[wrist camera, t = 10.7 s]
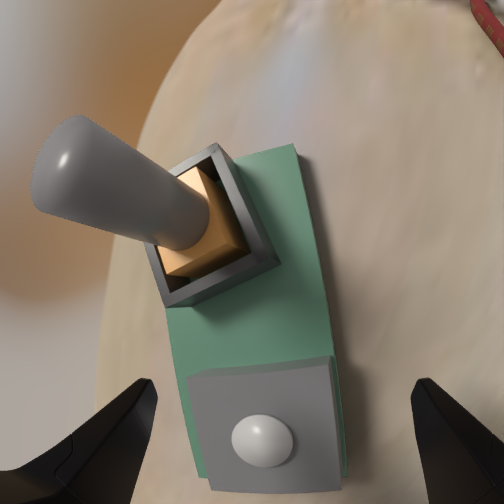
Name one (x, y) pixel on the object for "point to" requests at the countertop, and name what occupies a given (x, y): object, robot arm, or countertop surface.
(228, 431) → the grey button box
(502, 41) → the pliers
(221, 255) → the plug
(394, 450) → the countertop surface
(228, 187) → the frame
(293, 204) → the board
